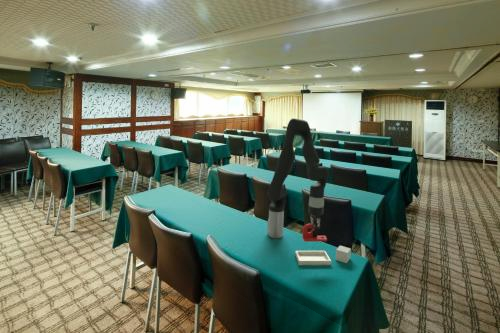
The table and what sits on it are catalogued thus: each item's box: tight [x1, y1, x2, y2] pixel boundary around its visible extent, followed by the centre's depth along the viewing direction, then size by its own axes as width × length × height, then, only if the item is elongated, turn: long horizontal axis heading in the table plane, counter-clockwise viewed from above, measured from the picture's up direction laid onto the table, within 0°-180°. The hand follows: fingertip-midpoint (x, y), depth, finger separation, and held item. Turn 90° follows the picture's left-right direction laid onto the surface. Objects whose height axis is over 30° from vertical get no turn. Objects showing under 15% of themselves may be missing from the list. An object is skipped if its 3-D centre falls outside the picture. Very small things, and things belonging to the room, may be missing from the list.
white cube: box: [335, 245, 352, 264], centre depth 150 cm, size 6×6×6 cm
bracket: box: [302, 223, 328, 242], centre depth 145 cm, size 12×4×8 cm, turn 92°
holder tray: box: [294, 250, 332, 266], centre depth 149 cm, size 11×17×2 cm, turn 92°
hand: (314, 236), depth 147 cm, fingers closed on bracket, 1 cm apart
